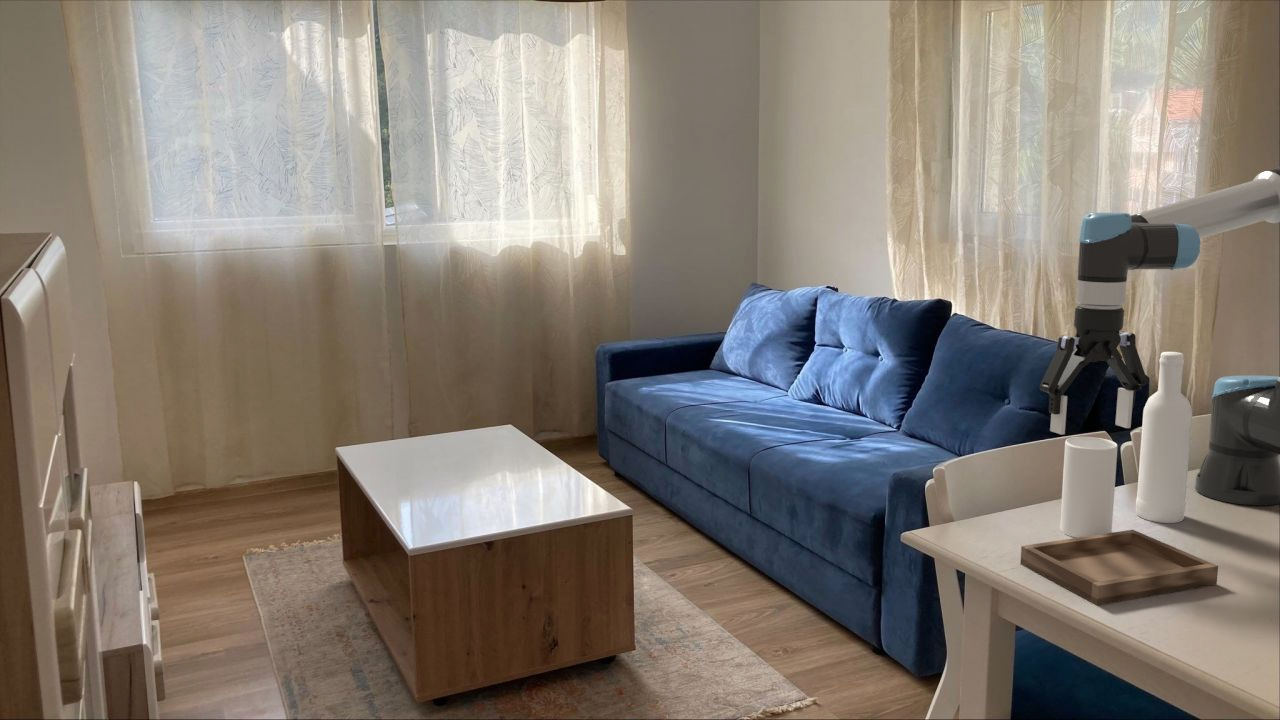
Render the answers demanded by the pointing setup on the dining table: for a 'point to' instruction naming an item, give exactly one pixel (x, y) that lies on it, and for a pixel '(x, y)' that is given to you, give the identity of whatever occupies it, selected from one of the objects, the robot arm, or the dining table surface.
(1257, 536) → the dining table surface
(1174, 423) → the bottle
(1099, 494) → the cup
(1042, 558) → the tray
